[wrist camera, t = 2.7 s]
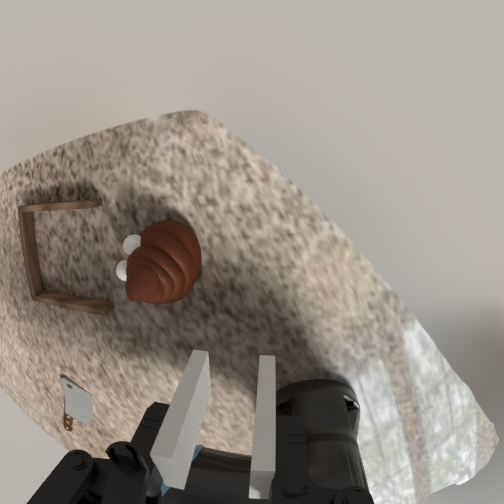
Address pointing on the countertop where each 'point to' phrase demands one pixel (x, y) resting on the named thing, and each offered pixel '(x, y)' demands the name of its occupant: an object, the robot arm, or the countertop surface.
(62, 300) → the walnut corral
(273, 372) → the robot arm
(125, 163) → the countertop surface
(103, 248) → the countertop surface
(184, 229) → the poop emoji
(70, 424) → the kitchen cleaver
